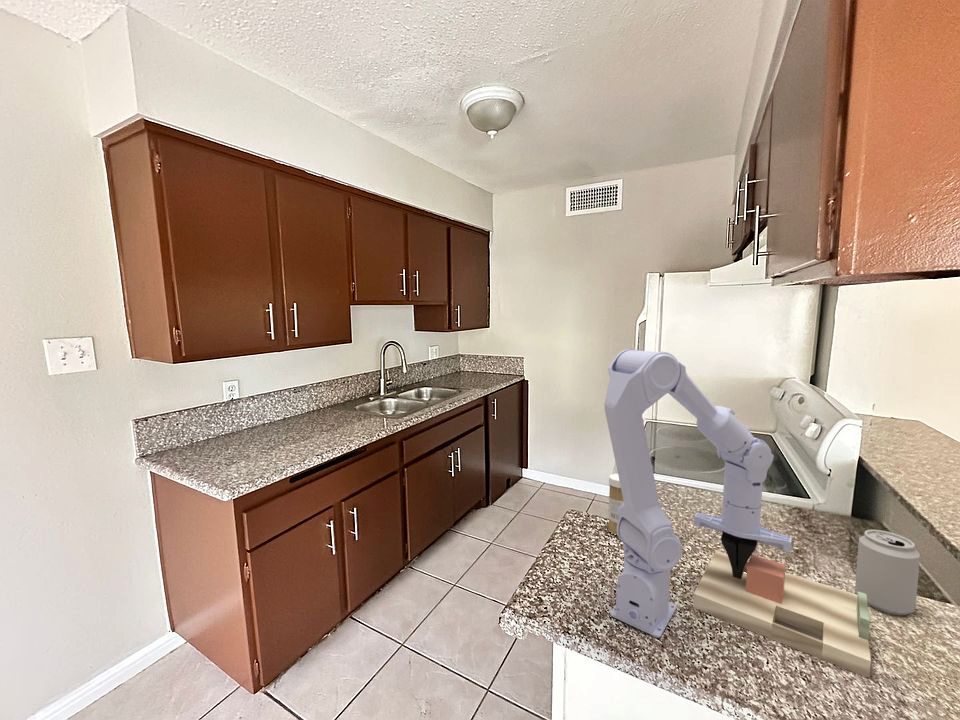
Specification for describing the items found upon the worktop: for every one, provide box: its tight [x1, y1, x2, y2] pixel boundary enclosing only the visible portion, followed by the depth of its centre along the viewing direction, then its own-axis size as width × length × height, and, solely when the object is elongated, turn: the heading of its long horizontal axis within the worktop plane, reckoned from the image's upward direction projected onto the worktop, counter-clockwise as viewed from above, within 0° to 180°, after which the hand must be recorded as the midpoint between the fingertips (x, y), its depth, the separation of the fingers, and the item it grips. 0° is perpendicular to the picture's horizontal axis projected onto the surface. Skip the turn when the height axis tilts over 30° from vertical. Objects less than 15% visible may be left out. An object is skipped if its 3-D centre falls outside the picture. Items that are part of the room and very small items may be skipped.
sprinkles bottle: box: [607, 473, 624, 535], centre depth 96 cm, size 5×5×13 cm
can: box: [854, 529, 921, 616], centre depth 71 cm, size 8×8×12 cm
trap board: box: [692, 550, 872, 679], centre depth 70 cm, size 18×22×6 cm
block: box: [746, 554, 787, 604], centre depth 71 cm, size 5×5×4 cm
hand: (737, 575), depth 74 cm, fingers closed
